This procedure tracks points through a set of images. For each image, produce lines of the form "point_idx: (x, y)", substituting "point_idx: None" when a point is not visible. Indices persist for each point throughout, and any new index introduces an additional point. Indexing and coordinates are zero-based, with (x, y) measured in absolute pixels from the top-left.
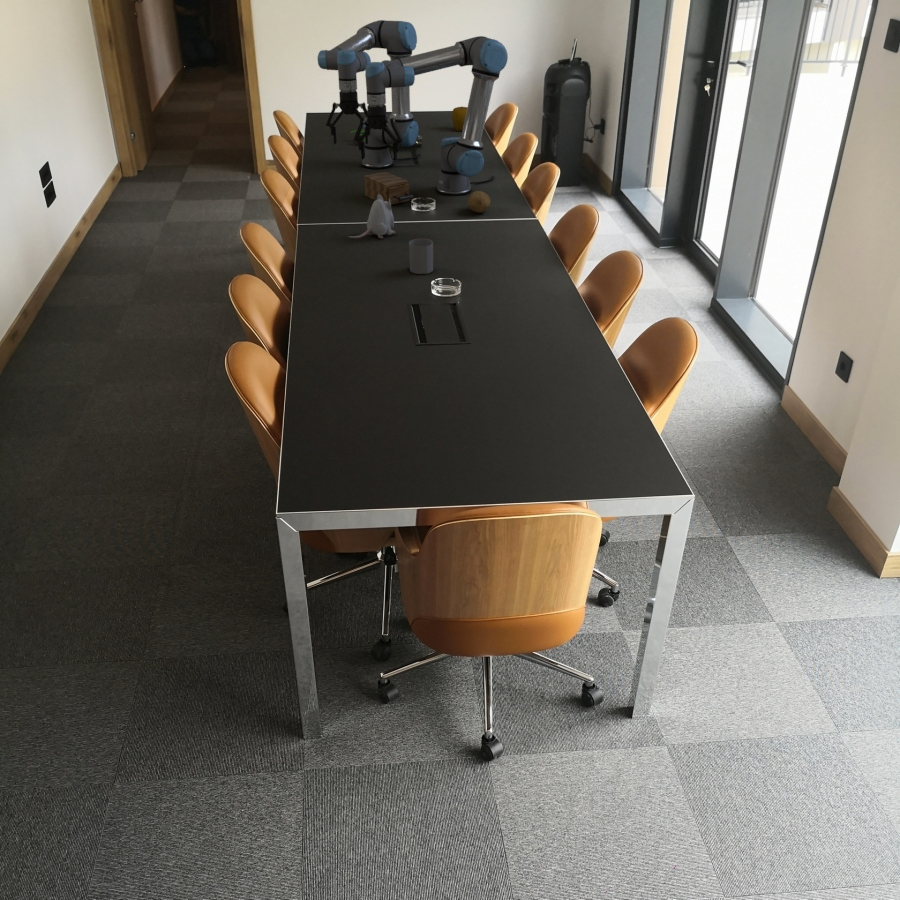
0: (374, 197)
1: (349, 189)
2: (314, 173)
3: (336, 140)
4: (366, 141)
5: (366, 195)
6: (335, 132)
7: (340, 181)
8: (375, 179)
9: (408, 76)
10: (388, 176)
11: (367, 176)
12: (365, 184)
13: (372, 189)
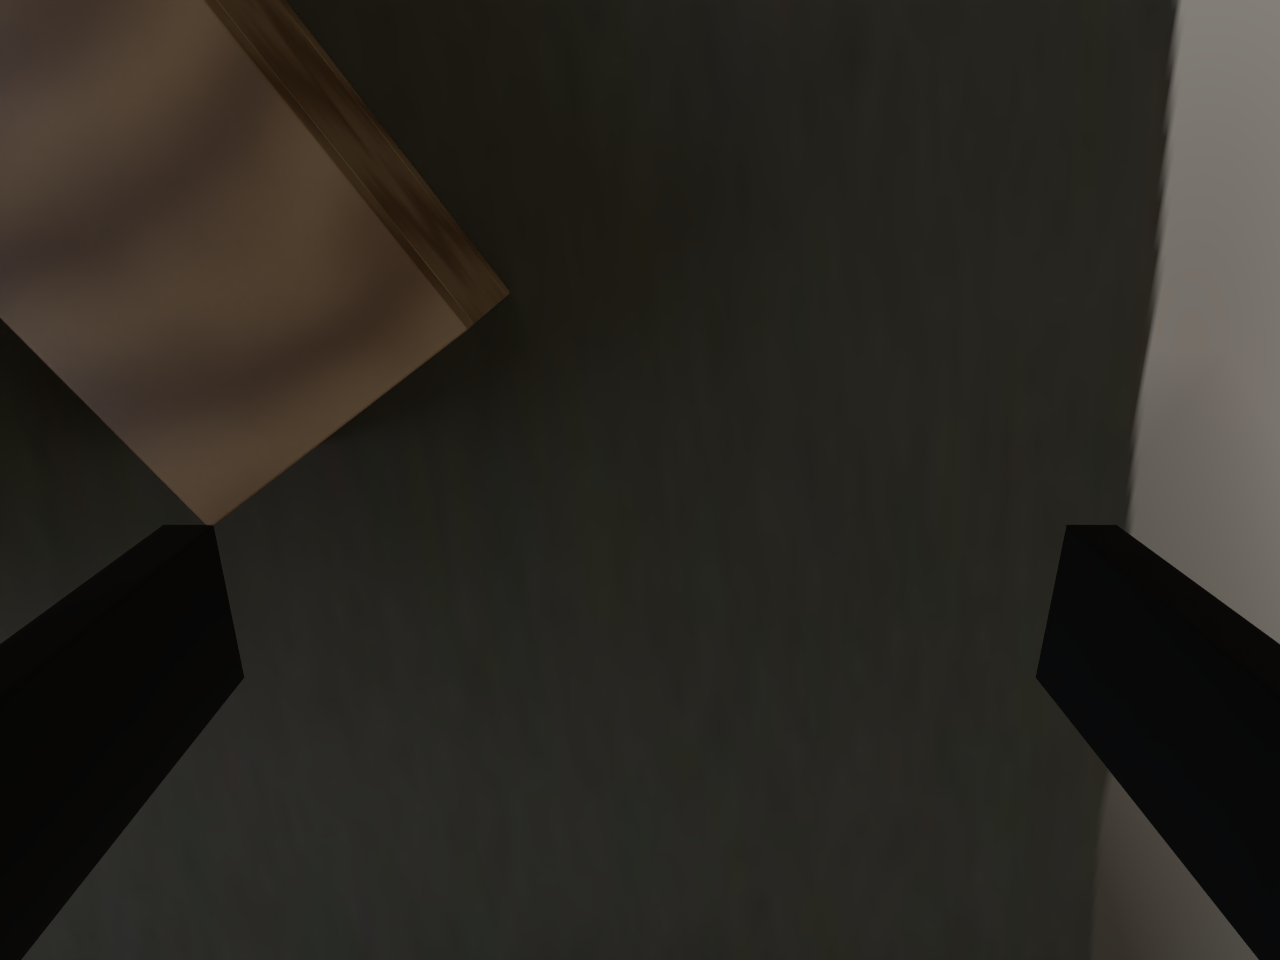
0: (369, 118)
1: (703, 523)
2: (1037, 956)
3: (1060, 707)
4: (147, 553)
5: (493, 273)
6: (1260, 796)
7: (806, 758)
8: (258, 118)
9: None
10: (106, 294)
11: (414, 288)
12: (476, 297)
13: (368, 150)
